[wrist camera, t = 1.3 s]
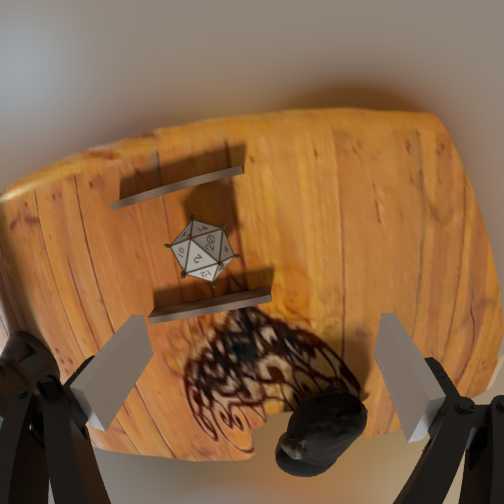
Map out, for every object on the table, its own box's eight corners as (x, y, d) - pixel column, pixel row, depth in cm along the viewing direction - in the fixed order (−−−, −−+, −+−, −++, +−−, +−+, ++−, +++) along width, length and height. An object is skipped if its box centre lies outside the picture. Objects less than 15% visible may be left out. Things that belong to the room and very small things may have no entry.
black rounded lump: (352, 366, 51) (399, 402, 40) (321, 434, 56) (355, 468, 44) (269, 388, 42) (318, 444, 30) (247, 458, 46) (280, 505, 35)
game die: (201, 227, 42) (174, 193, 33) (253, 243, 39) (237, 209, 30) (177, 282, 40) (141, 260, 30) (229, 303, 37) (204, 285, 28)
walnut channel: (155, 314, 42) (150, 323, 39) (119, 201, 37) (109, 203, 34) (270, 292, 41) (272, 301, 38) (241, 166, 36) (241, 165, 33)
